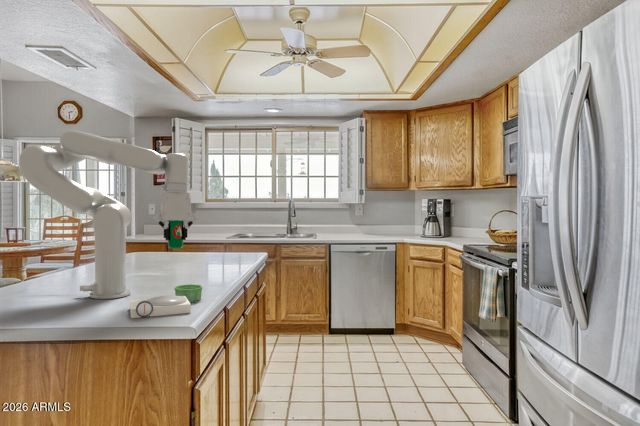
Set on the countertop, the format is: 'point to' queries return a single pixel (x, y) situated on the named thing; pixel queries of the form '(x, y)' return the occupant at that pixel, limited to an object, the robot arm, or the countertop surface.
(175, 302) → the scale
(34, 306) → the countertop surface
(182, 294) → the ramekin
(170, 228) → the soda can
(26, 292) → the countertop surface
